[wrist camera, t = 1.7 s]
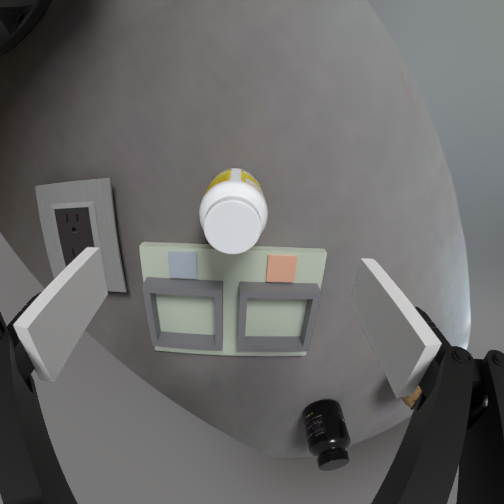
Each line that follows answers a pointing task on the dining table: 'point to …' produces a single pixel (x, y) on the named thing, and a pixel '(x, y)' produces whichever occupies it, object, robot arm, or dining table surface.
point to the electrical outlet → (81, 225)
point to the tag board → (231, 298)
